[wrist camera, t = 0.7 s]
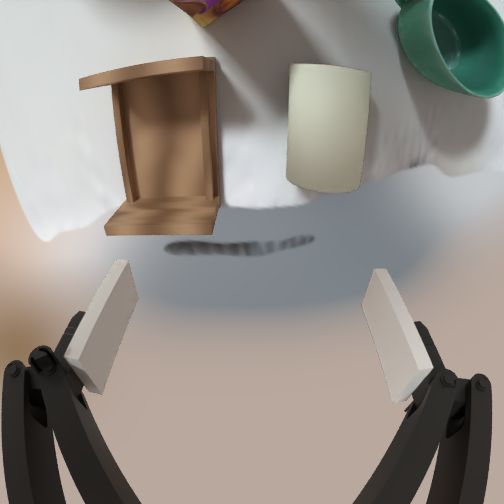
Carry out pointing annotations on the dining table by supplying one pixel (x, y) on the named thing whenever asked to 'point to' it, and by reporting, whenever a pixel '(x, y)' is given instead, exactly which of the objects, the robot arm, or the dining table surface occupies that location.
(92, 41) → the dining table surface
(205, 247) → the dining table surface
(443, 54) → the mug
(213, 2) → the candy box
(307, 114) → the roll
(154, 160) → the cradle
